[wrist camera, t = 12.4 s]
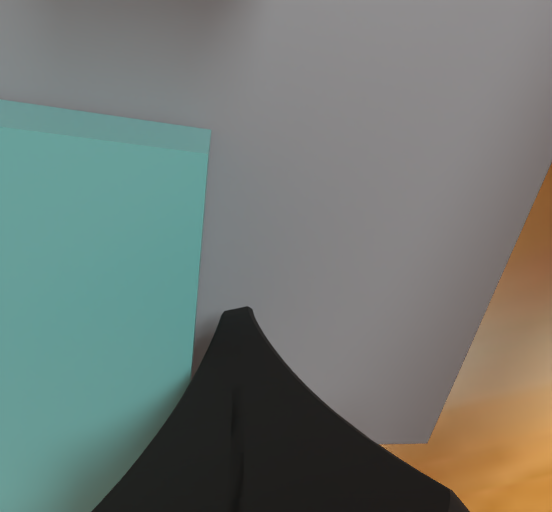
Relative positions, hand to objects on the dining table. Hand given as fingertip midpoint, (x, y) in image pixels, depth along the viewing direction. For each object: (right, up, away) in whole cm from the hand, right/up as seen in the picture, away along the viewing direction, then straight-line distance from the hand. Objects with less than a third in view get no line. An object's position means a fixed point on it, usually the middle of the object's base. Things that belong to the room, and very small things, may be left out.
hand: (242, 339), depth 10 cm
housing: (-5, +1, 0) cm, 5 cm away
